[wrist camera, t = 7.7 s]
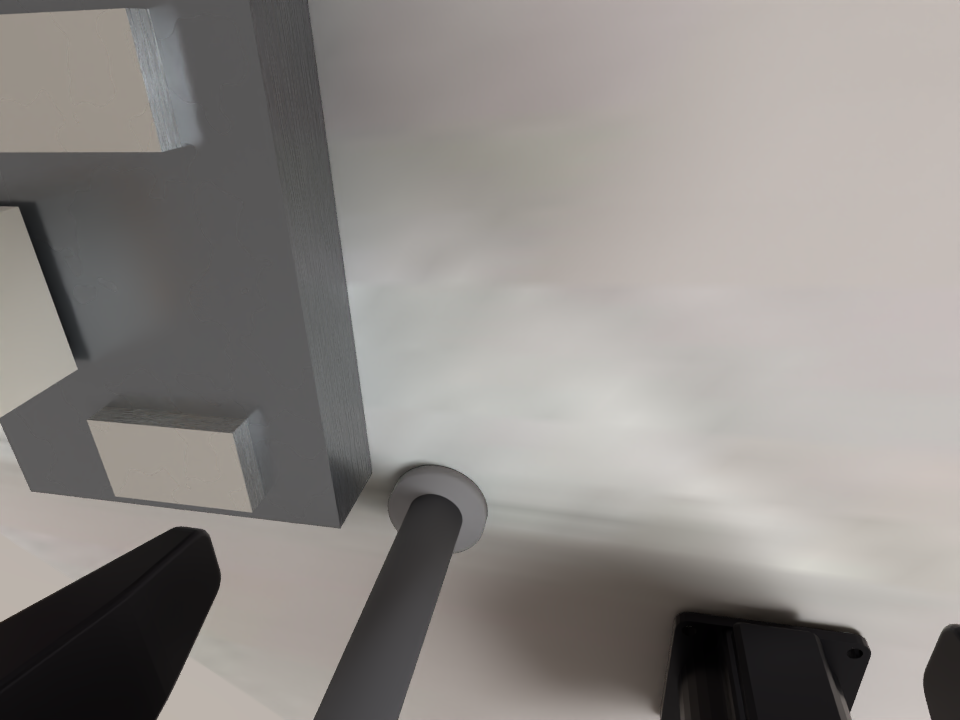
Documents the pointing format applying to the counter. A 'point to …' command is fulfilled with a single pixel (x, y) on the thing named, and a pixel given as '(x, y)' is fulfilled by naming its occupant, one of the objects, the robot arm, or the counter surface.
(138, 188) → the panel
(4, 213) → the slider
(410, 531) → the post
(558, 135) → the counter surface
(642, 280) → the counter surface
